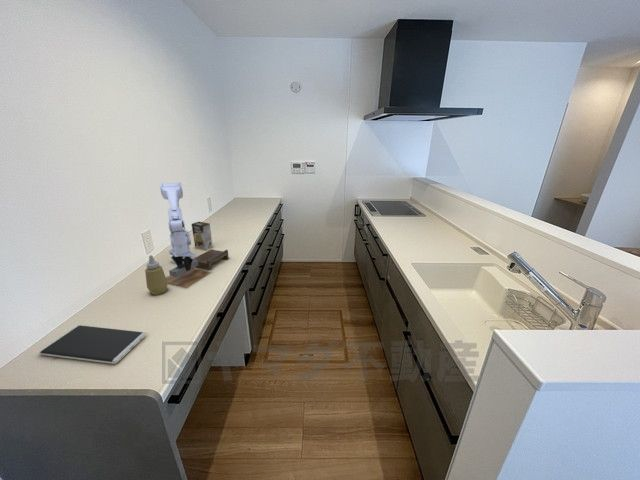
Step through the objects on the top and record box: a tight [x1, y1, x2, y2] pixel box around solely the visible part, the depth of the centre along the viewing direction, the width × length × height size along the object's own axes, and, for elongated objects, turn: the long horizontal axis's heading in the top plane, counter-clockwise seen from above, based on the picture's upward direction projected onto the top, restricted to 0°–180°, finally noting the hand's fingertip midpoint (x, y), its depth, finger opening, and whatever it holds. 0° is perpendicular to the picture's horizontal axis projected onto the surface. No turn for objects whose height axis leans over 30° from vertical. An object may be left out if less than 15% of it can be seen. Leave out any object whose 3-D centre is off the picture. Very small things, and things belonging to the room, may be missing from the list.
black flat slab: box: [39, 324, 146, 365], centre depth 88 cm, size 13×27×2 cm, turn 83°
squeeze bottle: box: [144, 254, 168, 296], centre depth 117 cm, size 8×8×18 cm
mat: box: [165, 268, 211, 289], centre depth 133 cm, size 16×16×1 cm
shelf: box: [194, 248, 230, 271], centre depth 148 cm, size 12×16×6 cm
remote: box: [168, 259, 199, 277], centre depth 131 cm, size 14×4×3 cm, turn 161°
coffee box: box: [190, 221, 213, 251], centre depth 166 cm, size 9×6×16 cm
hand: (184, 269), depth 131 cm, fingers closed on remote, 4 cm apart
